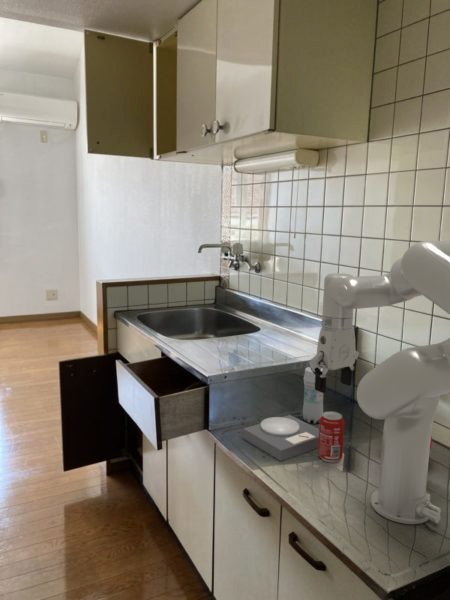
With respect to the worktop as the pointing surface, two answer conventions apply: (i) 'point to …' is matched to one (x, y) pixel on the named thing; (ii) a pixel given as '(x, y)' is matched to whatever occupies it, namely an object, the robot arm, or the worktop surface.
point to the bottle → (312, 398)
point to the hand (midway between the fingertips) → (333, 387)
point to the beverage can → (331, 437)
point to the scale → (283, 436)
